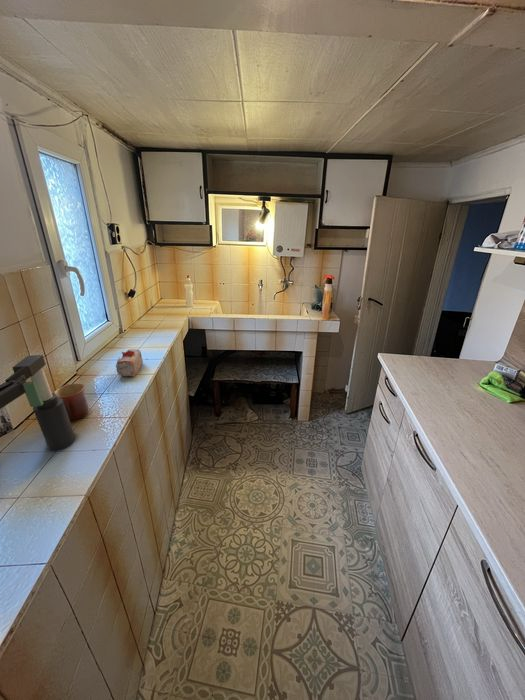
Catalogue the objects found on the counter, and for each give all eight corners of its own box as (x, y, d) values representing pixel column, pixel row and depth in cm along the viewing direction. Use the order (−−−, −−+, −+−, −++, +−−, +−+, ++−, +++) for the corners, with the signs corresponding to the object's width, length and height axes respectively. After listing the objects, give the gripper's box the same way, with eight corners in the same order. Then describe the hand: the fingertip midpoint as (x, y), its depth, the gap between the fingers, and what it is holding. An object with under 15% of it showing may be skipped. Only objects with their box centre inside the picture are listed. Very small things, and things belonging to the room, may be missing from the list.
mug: (94, 415, 98) (87, 390, 94) (65, 426, 93) (55, 400, 89) (86, 401, 106) (79, 377, 102) (59, 410, 101) (50, 385, 97)
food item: (136, 378, 122) (132, 357, 118) (117, 379, 121) (112, 358, 117) (144, 364, 135) (141, 345, 131) (127, 364, 134) (123, 345, 130)
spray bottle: (66, 455, 81) (33, 367, 70) (38, 458, 80) (1, 370, 68) (79, 433, 90) (52, 351, 78) (54, 435, 89) (23, 354, 77)
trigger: (41, 405, 75) (32, 383, 72) (30, 407, 75) (21, 384, 72) (43, 403, 76) (35, 381, 73) (33, 404, 76) (24, 382, 73)
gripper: (-164, 470, 43) (-48, 392, 63) (0, 449, 47) (60, 382, 67) (-197, 431, 40) (-64, 362, 60) (-18, 412, 44) (50, 354, 64)
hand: (1, 373), depth 64 cm, fingers open, 9 cm apart
